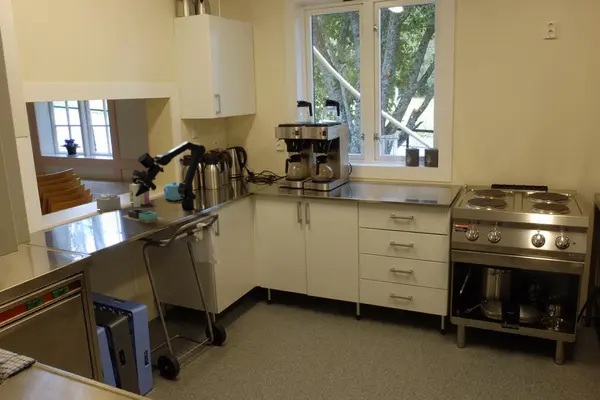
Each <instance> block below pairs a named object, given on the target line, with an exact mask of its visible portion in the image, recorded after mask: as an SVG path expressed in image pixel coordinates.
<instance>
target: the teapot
mask: <svg viewBox="0 0 600 400" xmlns="http://www.w3.org/2000/svg"><path fill="white" fill-rule="evenodd" d="M178 187H179V183H177V181H172V183H166V184H164V187H163V198H165V199H168V200H167V201H170V200H171V201H172V202H176V201H177V200H179V201H181V200H180V199H183V198H181V197H180V195H179V193H178Z"/></svg>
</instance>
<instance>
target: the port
mask: <svg viewBox="0 0 600 400" xmlns="http://www.w3.org/2000/svg"><path fill="white" fill-rule="evenodd" d="M157 217H158V212H154V211H150V210H149V211H146V212H144V213H139V219H141V220H145V221H149V220H154V219H157Z"/></svg>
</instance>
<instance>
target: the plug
mask: <svg viewBox="0 0 600 400" xmlns="http://www.w3.org/2000/svg"><path fill="white" fill-rule="evenodd" d="M132 184H133V183H132ZM132 188H133V203H132V204H133V205H132V206H133V207H134V208H140V207H141V204H140V195H139V196H137V197H136V196H135V195H136V193H137V191H138V190H139V184H133V185H132Z"/></svg>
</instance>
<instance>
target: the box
mask: <svg viewBox="0 0 600 400" xmlns="http://www.w3.org/2000/svg"><path fill="white" fill-rule="evenodd" d="M133 184H134V183H133V182H132V183H130V184H129V185H128V186H129V203H130V202H133V195H132V192H133V188H132V185H133ZM149 203H150V191H147V192H145V193H143V194H141V195H140V205H147V204H149Z"/></svg>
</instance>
